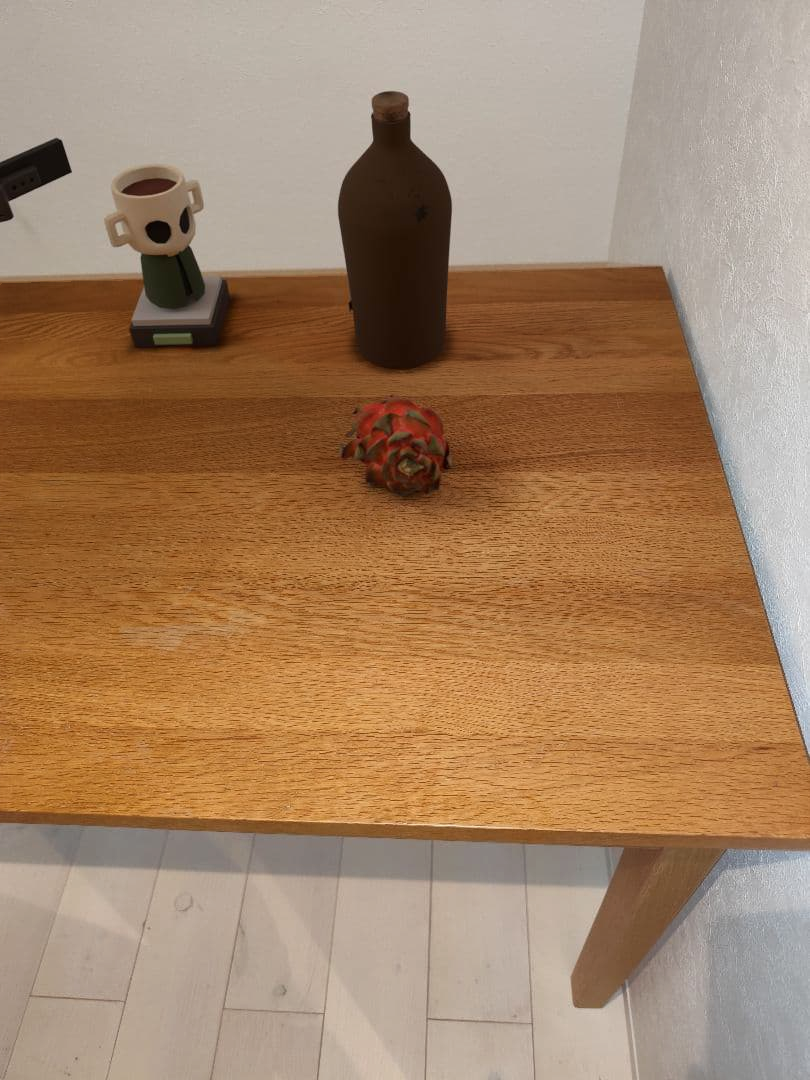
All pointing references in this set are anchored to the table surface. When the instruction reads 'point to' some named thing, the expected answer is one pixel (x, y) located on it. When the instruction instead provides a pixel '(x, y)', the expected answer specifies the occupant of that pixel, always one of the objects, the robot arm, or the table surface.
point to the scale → (182, 319)
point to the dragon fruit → (399, 446)
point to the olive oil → (396, 242)
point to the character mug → (159, 230)
